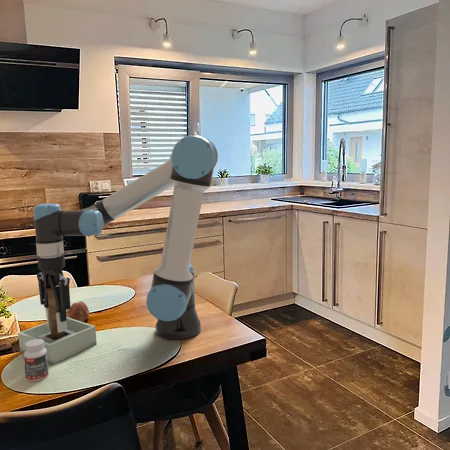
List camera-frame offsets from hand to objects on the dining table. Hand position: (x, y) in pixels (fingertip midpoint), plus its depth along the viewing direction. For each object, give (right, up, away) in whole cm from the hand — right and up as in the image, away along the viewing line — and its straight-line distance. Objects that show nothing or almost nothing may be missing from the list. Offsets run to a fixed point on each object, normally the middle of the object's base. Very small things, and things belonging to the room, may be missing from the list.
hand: (57, 328), depth 132 cm
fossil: (-1, -3, +22) cm, 22 cm away
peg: (0, -5, +1) cm, 5 cm away
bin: (0, -6, +1) cm, 6 cm away
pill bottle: (+1, -9, -17) cm, 19 cm away
